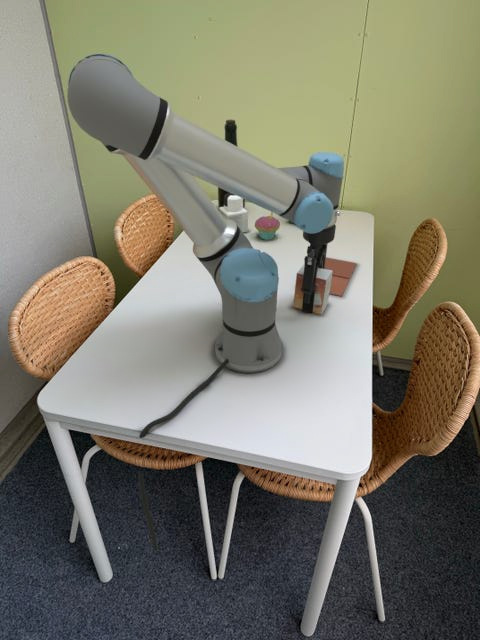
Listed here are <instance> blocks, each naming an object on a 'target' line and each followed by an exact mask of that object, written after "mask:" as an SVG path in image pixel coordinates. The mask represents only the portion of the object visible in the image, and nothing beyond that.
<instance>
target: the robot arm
mask: <svg viewBox="0 0 480 640" xmlns="http://www.w3.org/2000/svg"><path fill="white" fill-rule="evenodd" d="M67 82H68V83H67V91H66V93H67V95H66V96H67V97H66V98H67V103H68V108H69V112H70V114H71V117H72V118H73V120H74V121H75V123H76V124H77V126H78V127H79V128H80V129H81V130H82V131H83V132H84V133H86V134H87V135H88V136H90V137H91V138H93V139H95V140H97V141H98V142H100V143H101V144H102V145H103V146H104V147H105V148H106V150H107V151H108V152H109V153H110V154H115V155H120V156H123V158H124V159H125V160H126V162H127V163H128V164H129V165H130V166H131V168H132V169H133V170H134V171H135V172H136V174H137V175H138V176H139V177H140V179H141V180H142V182H144V183H145V185H146V186H147V187H148V189H149V190H150V191H151V192H152V194H153V195H154V196H155V197H156V198H157V199H158V201H159V202H160V203H161V205H162V206H163V207H164V208H165V210H166V211H167V212H168V213H169V214H170V216H171V217H172V218H173V219H174V221H175V222H176V224H177V225H179V227H180V228H181V230H182V231H183V232H184V233H185V234H186V235H187V237H188V238H189V239H190V241H192V243H193V244H192V253H193V255H194V256H195V257H196V258H197V260H198V261H199V262H200V263H201V265H202V266H203V267H204V269H206V271H207V272H208V273H209V275H210V276H211V278H212V280H213V282H214V284H215V287H216V288H217V290H218V293H219V294H220V298H221V313H222V314H221V315H222V317H221V318H222V324H221V326H220V329H219V333H218V335H217V337H216V340H215V343H214V349H215V356H216V359H217V361H219V363H220V365H219V366H218V367H217V368H216V369H215V371H214V372H213V373H212V374H211V375H210V376H209V377H208V378H207V379H205V380H204V381H203V382H202V383H201V384H200V385H198V386H197V387H196V388H194V390H192V391H191V392H190V393H189V394H187V396H186V397H185V398H184V399H182V401H181V402H180V403H179V404H178V405H177V406H176V407H175V408H174V409H173V410H172V411H170V412H169V413H168V414H167V415H164V416H161V417H158V418H156V419H155V420H153V421H151V422H149V423H148V424H147V425H146V426H145V427H144V428H143V429H142V431H141V432H140V434H139V436H138V438H139V439H143V438H145V436H146V435H147V433H148V432H149V431H150V430H151V429H153V428H154V427H156V426H157V425H160V424H163V423H165V422H167V421H170V419H172V418H174V417H175V416H176V415H177V414H178V413H180V411H182V409H184V407H185V406H186V405H187V404H188V403H189V401H191V400H192V398H194V397H195V396H196V395H197V394H199V393H200V392H202V390H203V389H204V388H206V387H207V386H208V385H209V384H210V383H212V382H213V380H215V379H216V377H217V376H218V375H219V374H220V373H221V372H222V370H223V369H225V368H227V369H229V370H232V371H235V372H237V373H245V374H253V373H255V374H256V373H260V372H265V371H266V370H269V369H272V367H275V365H277V364H278V362H279V361H280V360H281V357H282V353H283V342H282V340H281V336H280V334H279V331H278V328H277V325H276V318H277V303H278V288H279V281H280V278H279V268H278V264H277V262H276V260H275V259H274V258H273V256H272V255H270V254H269V253H267V252H265V251H261V250H260V249H257V248H254V247H253V246H252V244H251V241H250V240H249V238H248V237H247V236H246V235H245V234H244V232H243V233H242V231H241V230H240V228H239V227H238V226H237V224H236V223H235V222H234V221H233V220H230V219H224V218H223V216H222V215H221V214H220V212H219V210H218V207H216V205H215V204H214V202H213V201H212V199H211V198H210V197H209V195H208V194H207V193H206V191H205V190H204V188H203V187H202V185H201V184H200V183H199V182H198V180H197V179H200V180H202V181H204V182H205V183H207V184H211V185H212V186H215V187H217V188H218V187H219V188H221V189H223V190H226V191H228V192H230V193H232V194H234V195H236V196H238V197H241V198H243V199H245V201H247V202H249V203H251V204H254V205H256V206H258V207H260V208H262V209H265V210H266V211H269V212H270V213H271V212H273V214H275V215H277V216H279V217H280V218H283V219H285V220H287V221H288V222H289V221H291V222H293V223H295V224H294V225H295V226H296V227H297V228H298V229H299V230H301V231H302V238H303V239H304V240H305V241H306V242H308V243H309V245H308V246H307V249H306V254H307V255H305V256H304V258H303V260H304V261H303V262H304V263H303V265H304V274H303V283H302V288H301V291H302V292H303V293H304V294H303V304H302V309H301V312H304V313H309V314H313V313H314V312H313V304H314V296H315V290H314V287H315V282H316V276H317V271H318V268H322V269H325V261H326V258H327V253H328V244H330V243H332V242H333V241H334V240H335V237H336V229H337V225H336V223H337V219H338V217H339V216H341V211H338V210H339V206H340V205H339V204H340V199H341V192H342V186H343V179H344V170H345V169H344V168H345V160H344V157H342V156H341V155H339V154H338V153H335V152H327V151H321V152H317V153H312V154H311V155H310V157H309V161H308V164H307V165H306V164H305V165H299V166H286V167H276V166H274V165H272V164H270V163H268V162H267V161H265V160H263V159H262V158H259V157H257V156H255V155H253V154H251V153H250V152H248V151H246V150H244V149H242V148H241V147H237V146H235V145H233V144H231V143H229V142H227V141H226V140H225V138H222V137H220V136H218V135H216V134H214V133H213V132H210V131H209V130H208V129H205V128H203V127H201V126H199V125H198V124H196V123H195V122H193V121H190V120H188V119H187V118H185V117H183V116H181V115H179V114H177V113H175V112H174V111H173V109H172V106H171V103H170V102H169V101H167V100H166V99H164V98H162V97H160V96H158V95H157V94H155V93H153V92H152V91H150V90H149V89H148V88H147V87H146V86H144V85H142V83H141V82H139V81H138V80H137V78H135V77H134V75H133V73H132V71H131V70H130V68H129V67H128V66H127V65H126V64H124V63H123V61H122V60H120V59H119V58H117V57H116V56H113V55H111V54H106V53H93V54H89V55H86V56H85V57H84V58H82V59H80V60H78V62H77V63H76V64H75V65H74V66H73V67H72V69H71V71H70V73H69V77H68V81H67ZM196 178H197V179H196ZM293 223H292V224H293ZM137 472H138V486H139V493H140V497H141V503H142V507H143V510H144V514H145V519H146V523H147V525H148V531H149V534H150V538H151V543H152V546H153V547H152V548H153V551H157V550H158V549H159V547H158V542H157V537H156V532H155V528H154V524H153V520H152V515H151V512H150V509H149V504H148V499H147V494H146V488H145V486H146V485H145V480H144V479H145V478H144V472H141V471H140V470H138V471H137Z"/></svg>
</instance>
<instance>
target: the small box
mask: <svg viewBox="0 0 480 640" xmlns="http://www.w3.org/2000/svg"><path fill="white" fill-rule="evenodd" d="M332 273H333V271H332V270H326V269H322V268H318V271H317V276H316V282H315V287H314V290H315V296H314V304H313V312H312V313H314V314H317V315H321V316H322V314H323V313H324V311H325V310H326V308H327V306H328V303H329V297H330V294H329V292H330V285H331V279H332ZM303 274H304V264H303V265H302V266H301V267H300V268H299V270H298V271H297V272H296V277H295V285H294V296H293V302H292V303H293V304H292V307H293V308H295V309H300V310H302V304H303V294H304V293H303V292H302V291H301V288H302V283H303Z"/></svg>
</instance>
